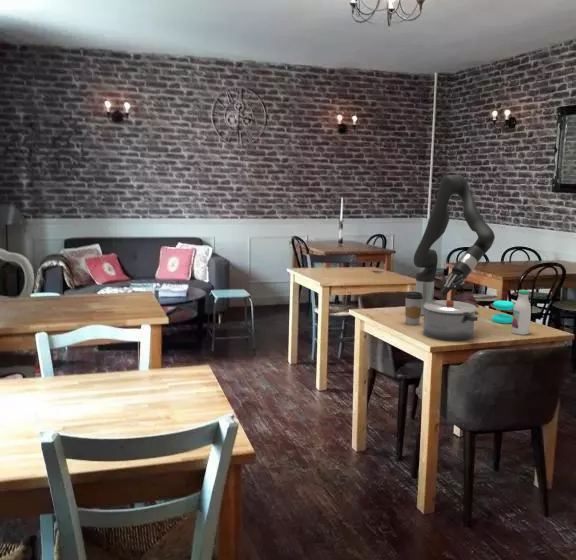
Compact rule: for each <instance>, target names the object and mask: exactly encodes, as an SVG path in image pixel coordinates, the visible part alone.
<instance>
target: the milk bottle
mask: <svg viewBox="0 0 576 560" xmlns="http://www.w3.org/2000/svg"><path fill="white" fill-rule="evenodd" d="M517 295H518V296H517V299H516V302H515V303H514V308H513V309H512V317H513V319H512V323H511V333H512V334H514V335H520V336H521V335H522V336H523V335H525V336H527V335H529V334H530V327H531V314H532V306H531V303H530V301H529V296H530V290H527V289H519V290H518V293H517ZM526 334H527V335H526Z"/></svg>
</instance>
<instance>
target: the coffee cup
mask: <svg viewBox="0 0 576 560" xmlns="http://www.w3.org/2000/svg"><path fill="white" fill-rule="evenodd" d="M405 293H406V294H405V296H404V297H405V306H404V307H405V313H404V315H405V323H406V325H409V326H417V325H419V324H420V318H421V315H420V314H421V305H422V299H423V296H422V293H420V292H415V291H407V292H405Z"/></svg>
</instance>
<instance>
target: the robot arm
mask: <svg viewBox="0 0 576 560" xmlns="http://www.w3.org/2000/svg"><path fill="white" fill-rule="evenodd" d="M453 195H458V197H459V198H460V200H461V202H462V207H463V208H462V212H463V217H464V219H465V222H466V224H467V225H468V227H469V228H470V229H469V230H471V231H472V232H475V234H476V236H477V239H476V241H475V242H474V243H473V245H471V246H470V247H469V248H468V249H467V250H466V251H465V252H464V254H462V255H461V257H459V259H458V261H457V262H456V263H455V264H454V265H453V267H452V268H451V272H449V273H448V275H443V276H442V280H441V281H442V282H441V285H442V286H443V288H442V289H441V290H440V291H439V294H440V295H441V297H446V296H447V294H449V292H450V291H455V290H457V289H460V288H461V287H463V286H465V285H466V282H465V281H464V280H466V279H467V278H468V277H469V276H470V275H471V273H472V271H473V270H474V269H475V267H476V266H477V264H478V263H479V262H480V260H481V259H482V258H483V256H484V255H485V254H486V253H487V252H488V251H489V250H490V249H491V248H492V245H493V244H494V241H495V237H496V236H495V232H494V230H492V228H491V227H490V226H489V225H488V223H486V222H485V220H484V218H483V216H482V215H481V213H480V211H479V210H478V207H477V205H476V203H475V201H474V198H473V195H472V192H471V190H470V186H469V184H468V182H467V180H466V177H465V176H464V175H462V174H448V175H444V176H443V177H442V179H441V180H440V184H439V188H438V190H437V195H436V199H435V202H434V205H433V209H432V211H431V214H430V217H429V219H428V221H427V225H426V227H425V230H424V233H423V236H422V237H421V240H420V241H419V244H418V246H417V248H416V250H415V252H414V254H413V255H414V256H413V264H414V266H415V267H416V268H420V269H421V268H422V269H423V270H422V271H421V272H420V273H418V274H416V277H415V291H414V292H420V293H422V296H423V299H422V305H421V314H420V316H424V309H425V308H424V303H425V302H427V301H434V294H435V293H434V292H435V291H434V290H435V280H436V275H437V270H438V269H437V268H438V261H439V259H438V254H437V251H436V250H435V249H431V248H432V246H433V245H434V244H435V243H436V241H438V240H439V239H440V238H441V237H442V236H443V234H444V233H445V232H446V231H447V230H446V229H447V228H448V225H449V222H450V213H449V209H448V207H449V206H448V205H449V202H450V199H451V196H453Z"/></svg>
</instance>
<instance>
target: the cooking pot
mask: <svg viewBox="0 0 576 560" xmlns="http://www.w3.org/2000/svg"><path fill="white" fill-rule="evenodd" d="M478 317H479V316H476V311H475V312H473V313H466V314H450V313H441V312H435V311H431V310H428V309H424V315H423V330H422V334H423V335H424V336H425V337H428V338H431V339H433V338H434V340H438V339H439V340H440V341H444V342H445V341H447V342H463V341H470V340H472V339H474V331H475V322H477V321H478V320H479V319H478ZM469 339H470V340H469ZM439 340H438V341H439Z"/></svg>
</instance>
